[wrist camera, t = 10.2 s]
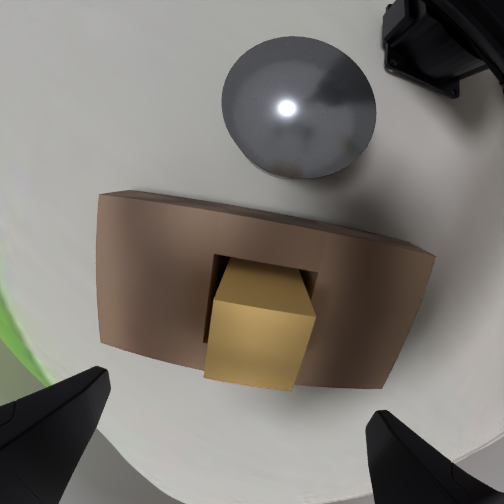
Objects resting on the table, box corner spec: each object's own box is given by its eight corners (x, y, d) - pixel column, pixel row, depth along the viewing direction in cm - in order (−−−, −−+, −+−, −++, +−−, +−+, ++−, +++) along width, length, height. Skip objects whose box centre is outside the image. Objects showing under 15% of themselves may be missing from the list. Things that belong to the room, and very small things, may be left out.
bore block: (406, 241, 18) (435, 256, 14) (366, 358, 21) (381, 388, 17) (128, 190, 18) (99, 194, 14) (123, 317, 21) (100, 342, 17)
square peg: (295, 261, 19) (316, 316, 11) (282, 316, 20) (291, 391, 12) (233, 249, 19) (213, 299, 11) (224, 306, 20) (203, 377, 12)
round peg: (342, 97, 16) (381, 59, 9) (326, 187, 18) (363, 193, 11) (246, 77, 16) (237, 26, 9) (229, 168, 18) (208, 162, 11)
